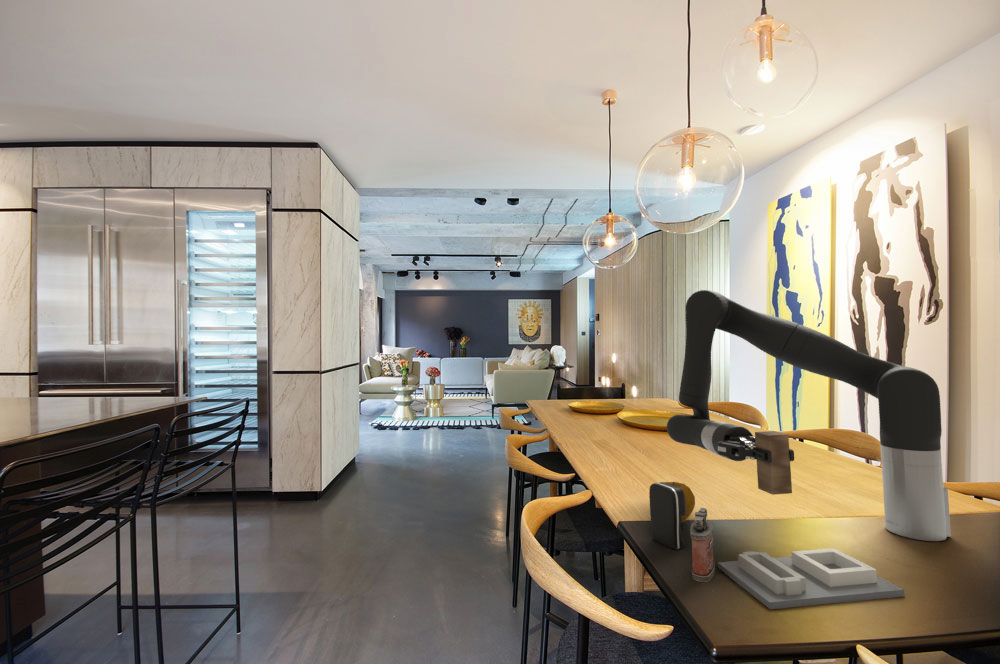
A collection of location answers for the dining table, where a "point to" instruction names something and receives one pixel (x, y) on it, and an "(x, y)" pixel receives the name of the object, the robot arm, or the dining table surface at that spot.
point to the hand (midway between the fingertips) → (781, 456)
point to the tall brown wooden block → (774, 463)
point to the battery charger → (667, 513)
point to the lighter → (702, 547)
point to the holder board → (807, 578)
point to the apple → (688, 497)
